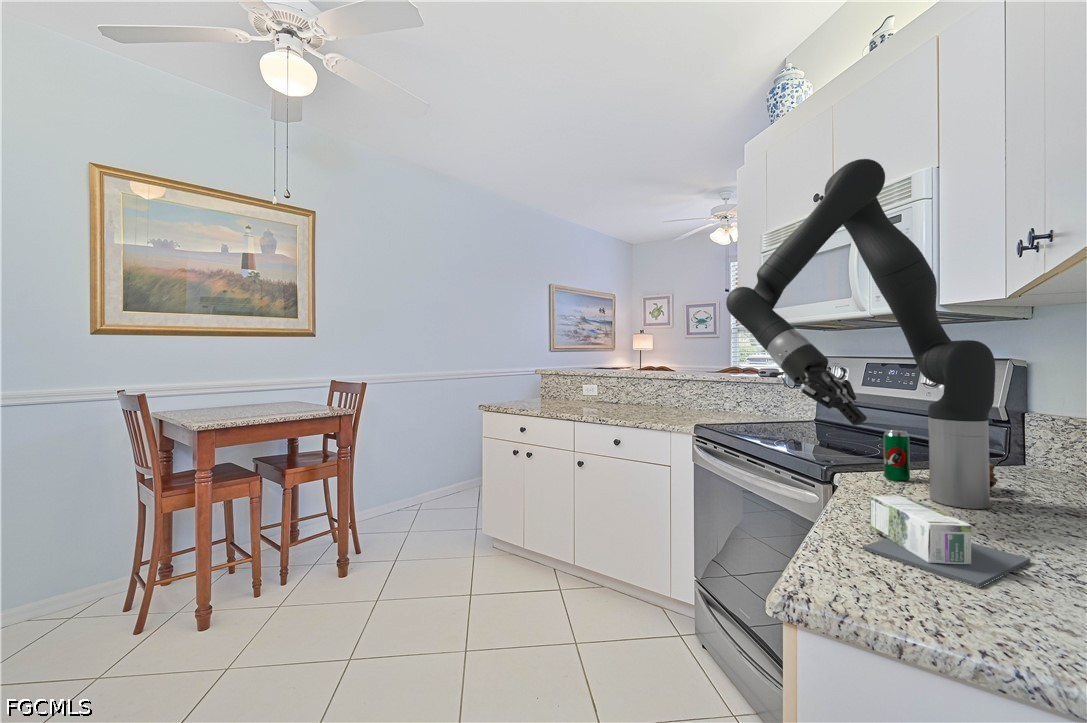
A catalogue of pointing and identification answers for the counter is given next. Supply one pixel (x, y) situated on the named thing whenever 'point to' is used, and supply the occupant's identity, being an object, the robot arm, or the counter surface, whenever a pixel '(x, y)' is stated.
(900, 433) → the soda can
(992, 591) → the counter surface
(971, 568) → the mat
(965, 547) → the syrup box
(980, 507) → the robot arm
